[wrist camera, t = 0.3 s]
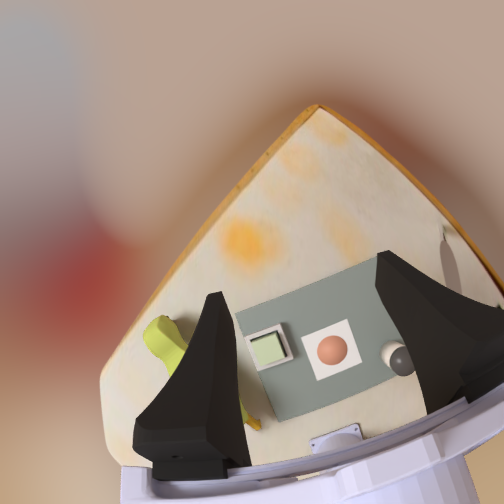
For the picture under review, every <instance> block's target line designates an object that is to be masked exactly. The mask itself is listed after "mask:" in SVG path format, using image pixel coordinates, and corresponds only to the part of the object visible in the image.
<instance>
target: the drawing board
mask: <svg viewBox="0 0 504 504" xmlns="http://www.w3.org/2000/svg"><path fill="white" fill-rule="evenodd" d="M376 266H377V256H376V257H374V258H372V259H369V260H367V261H365V262H362V263H360V264H358V265H356V266H353V267H351V268H349V269H346V270H344V271H341V272H339V273H337V274H334V275H332V276H330V277H327V278H325V279H322V280H320V281H318V282H315V283H313V284H310V285H308V286H305V287H303V288H300V289H298V290H295V291H293V292H290V293H288V294H285V295H283V296H280V297H278V298H275V299H272V300H270V301H267V302H265V303H262V304H259V305H257V306H254V307H251V308H249V309H246V310H243V311H241V312H238V313H235V316H236V318H237V321H238V323H239V326H240V329H241V331H242V334H243V336H244V339H245V341H246V344H247V346H248V349H249V351H250V354H251V356H252V359H253V361H254V364H255V366H256V369H257V371H258V374H259V376H260V379H261V381H262V383H263V386H264V388H265V391H266V393H267V396H268V398H269V400H270V403H271V405H272V407H273V410H274V412H275V415H276V417H277V419H278V422H281V421H284V420H288V419H291V418H294V417H297V416H300V415H303V414H306V413H309V412H311V411H314V410H317V409H320V408H323V407H325V406H328V405H330V404H333V403H336V402H338V401H341V400H343V399H346V398H348V397H350V396H353V395H355V394H358V393H360V392H362V391H364V390H367V389H369V388H371V387H373V386H376V385H378V384H380V383H382V382H384V381H386V380H388V379H390V378H392V377H394V376H396V375H397V374H396V373H395V372H394V371H392V369H391V368H390V367H388V366H387V365H386V364H385V363H383V362H382V361H381V359H380V357H379V351H380V348H381V346H382V345H383V344H384V343H385V342H387V341H390V340H393V341H396V342H398V343H400V344H402V345H405V343H404V341H403V339H402V337H401V335H400V333H399V332H398V330H397V328H396V326H395V325H394V323H393V321H392V319H391V318H390V316H389V314H388V312H387V311H386V309H385V307H384V305H383V304H382V301H381V299H380V297H379V295H378V292H377V290H376V287H375V278H376ZM274 332H277V334H278V337H279V339H280V342H281V345H282V347H283V350H284V352H285V358H283V359H280V360H277V361H274V362H272V363H269V364H266V365H263V366H260V364H259V362H258V359H257V357H256V354H255V352H254V349H253V347H252V344H251V342H252V341H253V340H254V339H257V338H260V337H263V336H265V335H268V334H271V333H274ZM405 346H406V345H405Z"/></svg>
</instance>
